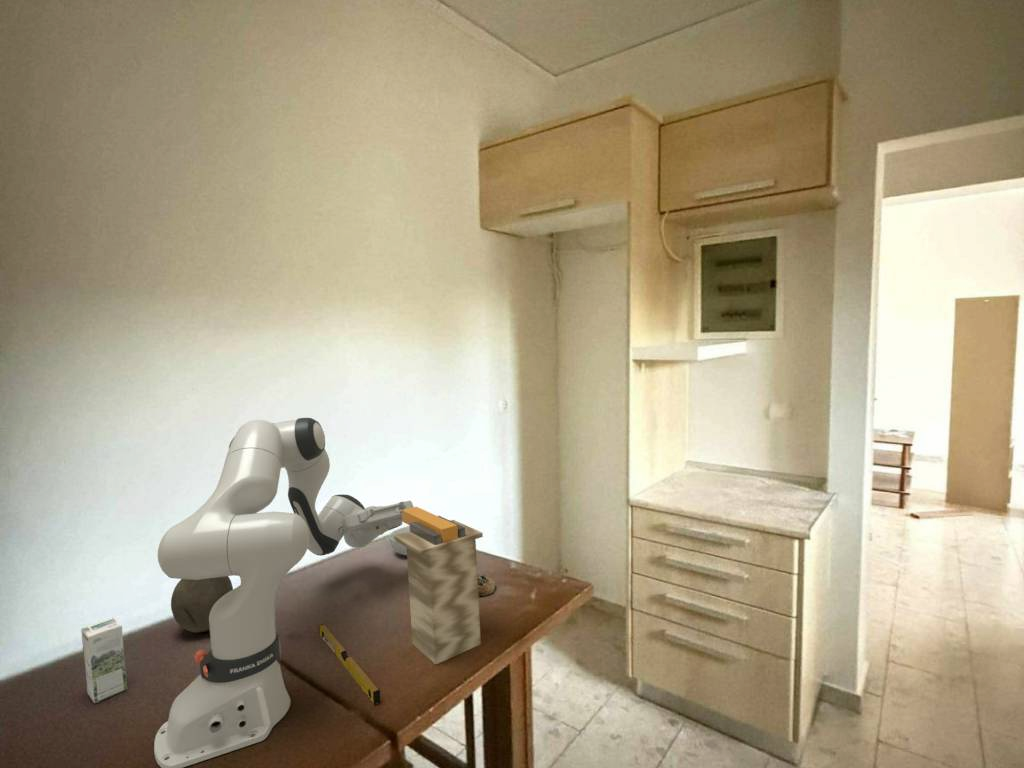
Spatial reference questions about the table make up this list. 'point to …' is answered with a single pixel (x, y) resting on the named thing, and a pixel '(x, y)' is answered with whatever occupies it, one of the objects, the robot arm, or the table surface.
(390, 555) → the table surface
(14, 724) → the table surface
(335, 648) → the spirit level
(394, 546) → the cereal bowl
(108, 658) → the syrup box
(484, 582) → the bread roll
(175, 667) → the table surface
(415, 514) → the long orange beam
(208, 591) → the dark grey ball
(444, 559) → the stand
